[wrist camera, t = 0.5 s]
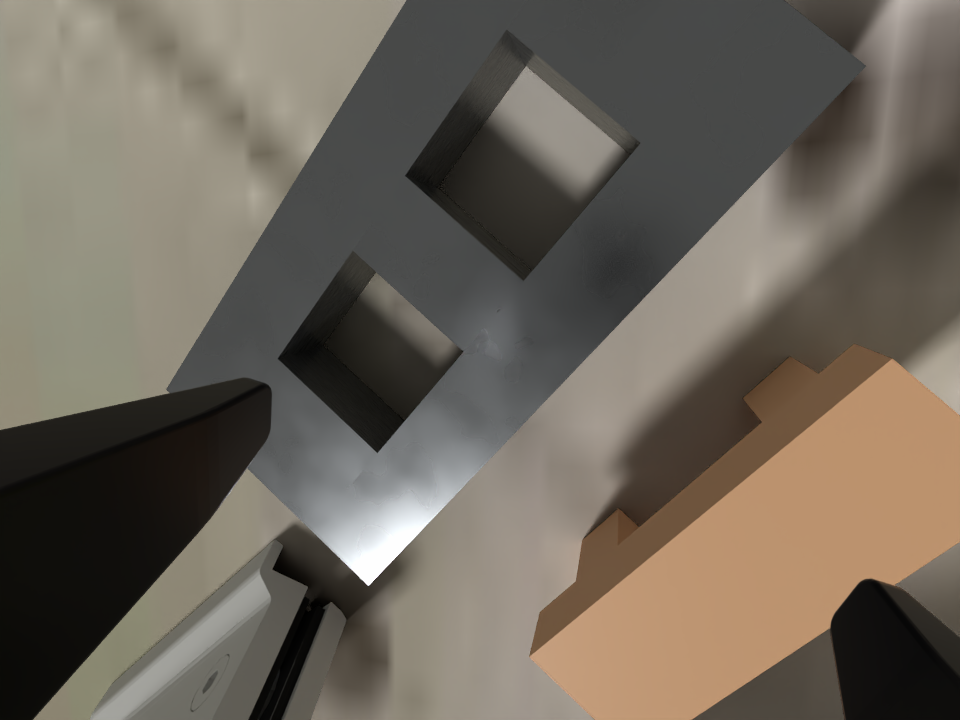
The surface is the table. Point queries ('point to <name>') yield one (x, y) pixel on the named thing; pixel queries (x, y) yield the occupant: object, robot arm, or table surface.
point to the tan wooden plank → (759, 543)
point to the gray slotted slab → (476, 253)
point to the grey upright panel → (235, 655)
